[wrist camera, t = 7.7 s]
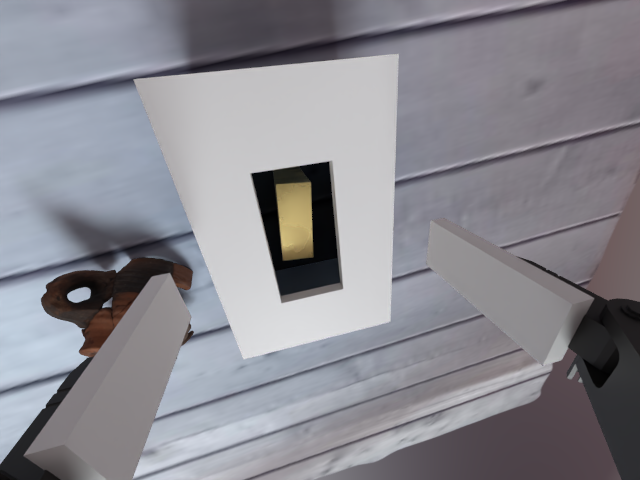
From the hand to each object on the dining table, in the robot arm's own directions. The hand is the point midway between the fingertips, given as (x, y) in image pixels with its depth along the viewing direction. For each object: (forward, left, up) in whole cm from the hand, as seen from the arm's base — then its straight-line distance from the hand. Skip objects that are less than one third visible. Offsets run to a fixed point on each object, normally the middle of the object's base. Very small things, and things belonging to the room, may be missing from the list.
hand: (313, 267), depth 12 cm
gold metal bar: (0, 0, -13) cm, 13 cm away
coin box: (0, 0, -13) cm, 13 cm away
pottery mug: (-16, -7, -13) cm, 22 cm away
